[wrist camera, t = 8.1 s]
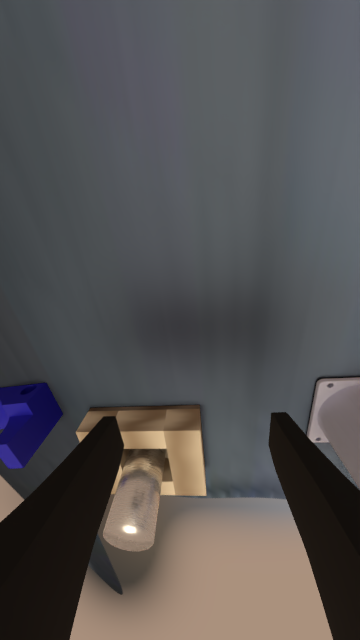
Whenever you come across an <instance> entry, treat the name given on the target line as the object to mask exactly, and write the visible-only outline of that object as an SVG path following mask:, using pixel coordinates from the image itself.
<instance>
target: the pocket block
mask: <svg viewBox="0 0 360 640" xmlns="http://www.w3.org/2000/svg"><path fill="white" fill-rule="evenodd" d="M103 416H116V419H117V423H118V426H119V429H120V433H121V436H122V439H123V442H124V450H123V454H122V459H121V463H120V467H119V471H118V474H117V477H116V480H115V483H114V486H113V489H112V492H111V494H115V493H116V490H117V487H118V483H119V480H120V477H121V474H122V471H123V467H124V464H125V461H126V458H127V455H128V452H129V449H167V450H166V457H165V464H164V471H163V479H162V486H161V493H160V495H194V496H206V477H205V461H204V449H203V438H202V427H201V415H200V405H179V406H142V407H105V408H90V409H89V411H88V413H87V414H86V416H85V418H84V419H83V421H82V423H81V424H80V426H79V428H78V429H77V431H76V434H77V436H78V439H79V441H80V442H81V441H82V440H83V439H84V438H85V436H86V435H87V434H88V433H89V432H90V431H91V430H92V429H93V427H94V426H95V425H96V424H97V423H98V422H99V421H100V420H101V419H102V417H103Z"/></svg>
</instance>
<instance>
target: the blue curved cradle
mask: <svg viewBox="0 0 360 640" xmlns="http://www.w3.org/2000/svg"><path fill="white" fill-rule="evenodd" d="M62 415H63V413H62V411H61V409H60V407H59V405H58V404H57V402H56V400H55V398H54V396H53V394H52V392H51V391H50V389H49V387H48V385H47V383H38V384H30V385H21V386H13V387H4V388H0V429H4V428H5V429H4V430H3V432H2V433H1V434H0V458H1V459H2V461H3V462H4V463H5V464H6V466H7V467H8V468H9V469H12V468H24V467H25V465H26V464H27V463H28V461H29V460H30V458H31V457H32V456H33V454H34V453H35V452H36V450H37V449H38V448H39V446H40V445H41V444H42V442H43V441H44V439H45V438H46V437H47V435H48V434H49V433H50V431H51V430H52V429H53V427H54V426H55V425H56V423H57V422H58V420H59V419H60V418H61V416H62Z"/></svg>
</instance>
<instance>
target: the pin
mask: <svg viewBox="0 0 360 640" xmlns="http://www.w3.org/2000/svg"><path fill="white" fill-rule="evenodd" d="M166 450H167V449H129V452H128V455H127V458H126V461H125V464H124V467H123V471H122V474H121V477H120V480H119V483H118V487H117V490H116V493H115V496H114V500H113V503H112V506H111V509H110V512H109V515H108V518H107V522H106V525H105V528H104V531H103V537H104V538H105V540H106V541H107V542H108V543H110V544H111V545H113V546H115V547H117V548H120V549H123V550H128V551H143V550H147V549H149V548H150V547H151V546H152V545H153V543H154V536H155V529H156V522H157V514H158V507H159V500H160V493H161V486H162V479H163V471H164V464H165V457H166Z"/></svg>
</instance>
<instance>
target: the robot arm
mask: <svg viewBox="0 0 360 640" xmlns="http://www.w3.org/2000/svg"><path fill="white" fill-rule="evenodd" d="M328 384H329V385H328ZM313 442H330V444H331V445H332V447H333V449H334V450H335V452H336V453H337V455H338V456H339V458H340V459H341V461H342V463H343V464H344V466H345V467H346V469H347V470H348V472H349V473H350V475H351V476H352V478H353V480H354V481H355V483H356V484H357V486H358V487H359V489H360V377H358V378H331V379H320V380H319V381H318V382H317V384H316V389H315V395H314V400H313V405H312V410H311V416H310V421H309V426H308V432H307V435H306V434H305V433H304V432H303V431H302V430H301V429H300V428H299V426H298V425H297V424H296V423H295V422H294V421H293V419H292V418H291V417H290V416H289V415H288V414H287V413H286V412H278V413H271V423H270V434H269V448H270V452H271V455H272V459H273V463H274V466H275V470H276V473H277V475H278V478H279V481H280V483H281V486H282V489H283V491H284V494H285V496H286V499H287V501H288V504H289V507H290V509H291V512H292V515H293V517H294V520H295V523H296V525H297V528H298V530H299V533H300V536H301V538H302V541H303V543H304V546H305V549H306V552H307V555H308V558H309V561H310V564H311V567H312V571H313V574H314V577H315V580H316V584H317V587H318V590H319V593H320V597H321V600H322V603H323V606H324V610H325V613H326V617H327V620H328V623H329V627H330V630H331V633H332V636H333V640H360V490H359V489H358V488H357V487H356V486H355V485H354V484H352V483H351V482H350V481H349V480H348V479H347V478H346V477H345V476H344V475H343V474H342V473H341V472H340V471H339V470H338V469H337V468H336V466H335V465H334V464H333V463H332V462H331V461H330V460H329V459H328V458H327V457H326V456H325V455H324V454H323V453H322V452H321V451H320V450H319V449H318V448H317V446H316V445H315V444H314V443H313ZM123 450H124V442H123V439H122V436H121V433H120V429H119V426H118V423H117V419H116V416H103V417H102V419H101V420H100V421H99V422H98V423H97V424H96V425H95V426H94V427H93V429H92V430H91V431H90V432H89V433H88V434H87V435H86V436H85V438H84V439H83V440H82V441H81V442H80V443H79V444H78V445H77V447H76V448H75V449H74V450H73V451H72V452H71V453H70V454H69V455H68V456H67V458H66V459H65V460H64V461H63V462H62V463H61V464H60V465H59V466H58V467H57V468H56V469H55V470H54V471H53V472H52V473H51V474H50V475H49V476H48V477H47V479H46V480H45V481H44V482H43V483H42V484H41V485H40V486H39V487H38V488H37V489H36V490H35V491H34V492H33V493H32V494H31V495H30V496H28V497H27V498H26V499H25V500H24V501H23V502H22V503H21V504H20V505H19V506H18V507H17V508H16V509H15V510H13V511H12V512H11V513H10V514H9V515H8V516H7V517H6V518H5V519H4V520H2V521H1V522H0V640H69V639H70V635H71V631H72V626H73V622H74V618H75V614H76V610H77V606H78V602H79V598H80V594H81V590H82V586H83V582H84V579H85V575H86V571H87V567H88V564H89V560H90V556H91V552H92V549H93V545H94V542H95V539H96V536H97V532H98V529H99V527H100V524H101V521H102V518H103V515H104V512H105V509H106V506H107V503H108V500H109V497H110V495H111V492H112V489H113V486H114V483H115V480H116V477H117V474H118V471H119V467H120V463H121V459H122V454H123Z"/></svg>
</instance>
